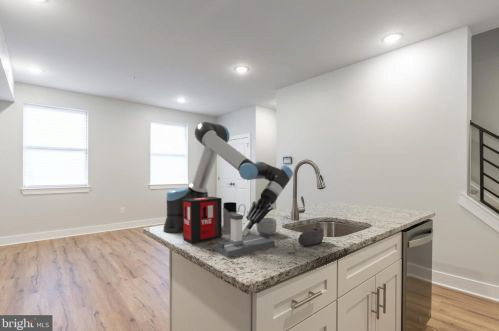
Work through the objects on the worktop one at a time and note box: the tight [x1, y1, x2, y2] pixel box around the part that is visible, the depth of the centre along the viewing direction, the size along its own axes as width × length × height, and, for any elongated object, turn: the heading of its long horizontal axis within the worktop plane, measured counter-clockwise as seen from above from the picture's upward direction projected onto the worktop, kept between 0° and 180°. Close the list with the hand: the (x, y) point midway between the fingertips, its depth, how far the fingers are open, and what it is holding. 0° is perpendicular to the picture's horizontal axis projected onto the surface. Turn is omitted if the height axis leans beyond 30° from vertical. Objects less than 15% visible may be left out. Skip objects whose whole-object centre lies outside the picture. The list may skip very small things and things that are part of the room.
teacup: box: [255, 216, 277, 236], centre depth 132 cm, size 14×11×8 cm
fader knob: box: [228, 213, 244, 246], centre depth 105 cm, size 5×4×12 cm
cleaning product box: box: [182, 196, 223, 245], centre depth 122 cm, size 16×9×20 cm, turn 129°
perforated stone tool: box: [297, 227, 324, 247], centre depth 112 cm, size 15×5×7 cm, turn 119°
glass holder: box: [222, 201, 246, 232], centre depth 143 cm, size 9×14×15 cm, turn 117°
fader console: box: [213, 232, 276, 258], centre depth 108 cm, size 12×24×4 cm, turn 125°
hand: (242, 234), depth 106 cm, fingers closed
